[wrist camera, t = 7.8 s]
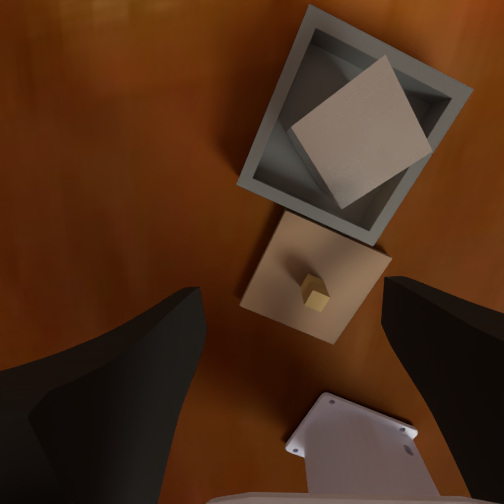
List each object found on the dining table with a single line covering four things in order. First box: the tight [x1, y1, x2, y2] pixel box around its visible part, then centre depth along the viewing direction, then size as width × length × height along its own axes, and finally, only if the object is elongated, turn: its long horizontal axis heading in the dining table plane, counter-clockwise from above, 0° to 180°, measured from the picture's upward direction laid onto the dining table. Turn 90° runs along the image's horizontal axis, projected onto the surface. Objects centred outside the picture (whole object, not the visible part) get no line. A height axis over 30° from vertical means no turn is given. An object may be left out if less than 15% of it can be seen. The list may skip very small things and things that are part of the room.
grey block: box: [286, 55, 432, 209], centre depth 14 cm, size 4×4×5 cm
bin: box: [236, 4, 474, 246], centre depth 16 cm, size 9×9×3 cm
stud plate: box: [239, 208, 392, 345], centre depth 19 cm, size 8×8×3 cm
